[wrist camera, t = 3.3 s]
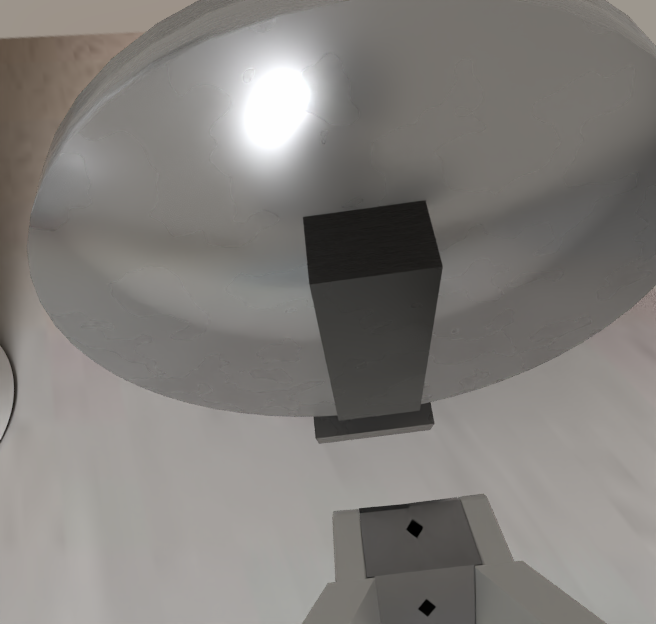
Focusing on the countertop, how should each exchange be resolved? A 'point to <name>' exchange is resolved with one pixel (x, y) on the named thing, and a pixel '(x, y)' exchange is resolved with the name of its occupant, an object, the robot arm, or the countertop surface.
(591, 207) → the cooker lid
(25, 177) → the countertop surface
